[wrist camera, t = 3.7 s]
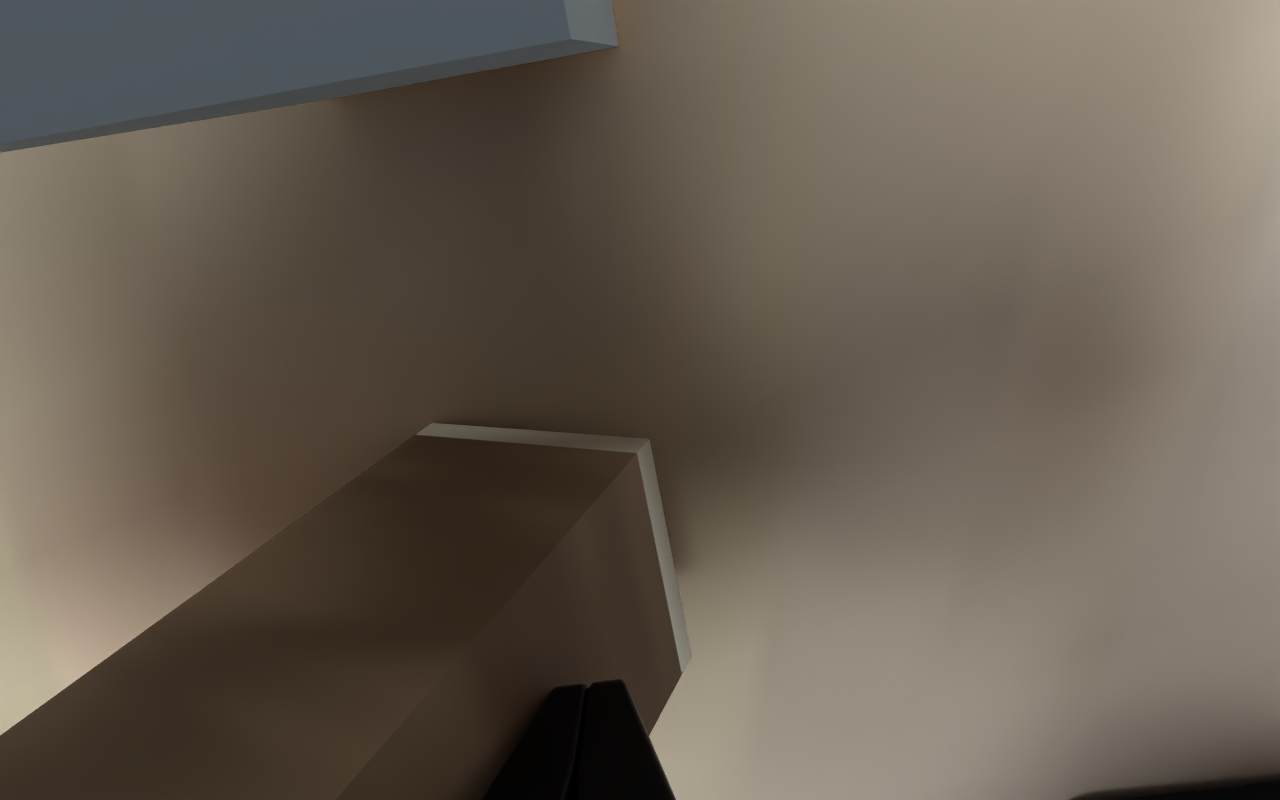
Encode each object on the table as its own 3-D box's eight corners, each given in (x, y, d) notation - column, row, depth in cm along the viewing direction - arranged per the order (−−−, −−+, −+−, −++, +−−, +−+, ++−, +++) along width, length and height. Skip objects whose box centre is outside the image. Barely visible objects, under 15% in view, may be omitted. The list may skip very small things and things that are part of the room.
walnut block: (649, 438, 11) (56, 1121, 4) (691, 656, 12) (306, 1377, 6) (431, 423, 12) (-206, 883, 6) (493, 613, 14) (39, 1130, 8)
